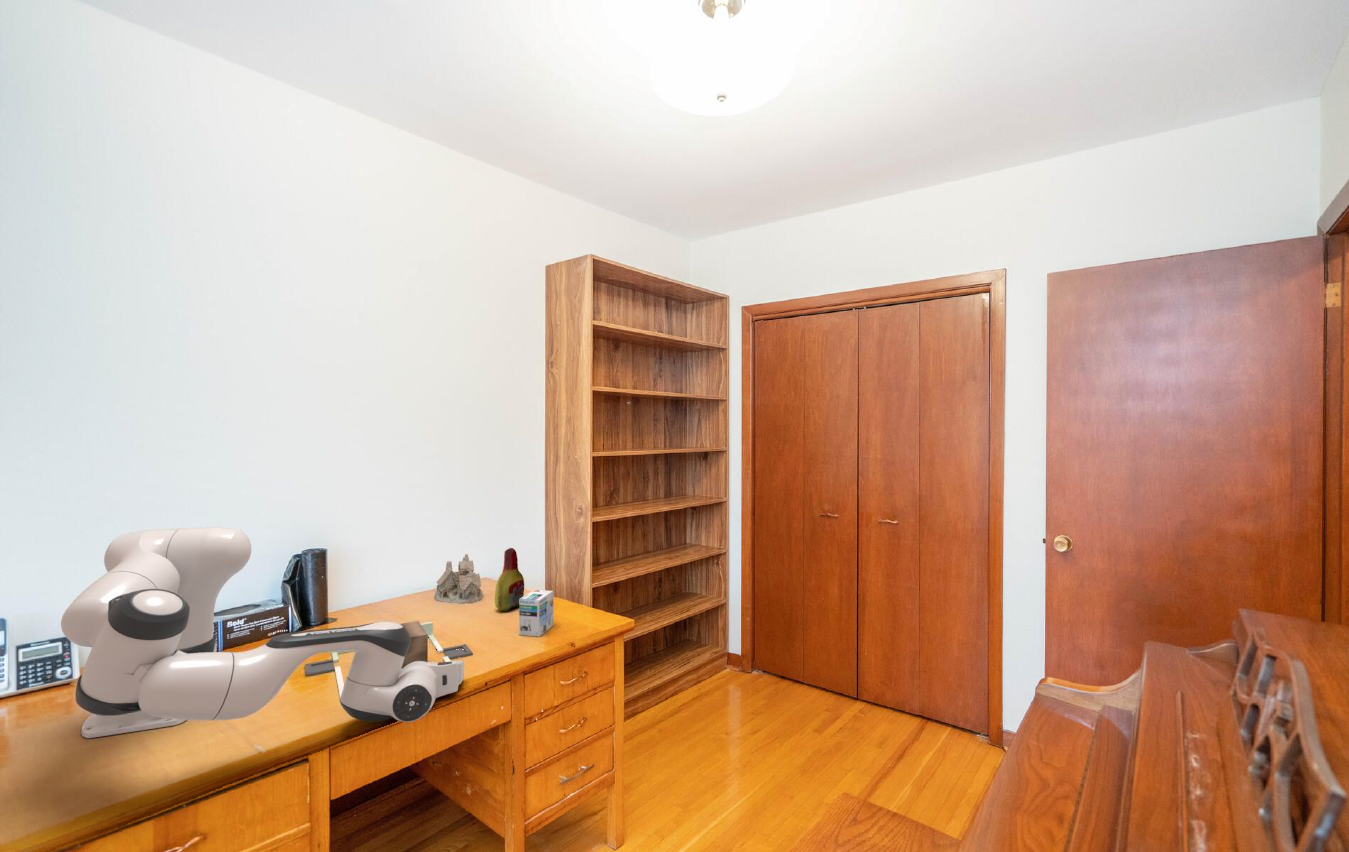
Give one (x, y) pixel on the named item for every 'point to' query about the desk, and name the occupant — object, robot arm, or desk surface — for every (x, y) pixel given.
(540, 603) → the light bulb box
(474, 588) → the ceramic cottage
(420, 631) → the walnut block
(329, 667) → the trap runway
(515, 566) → the bottle
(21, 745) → the desk surface
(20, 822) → the desk surface
